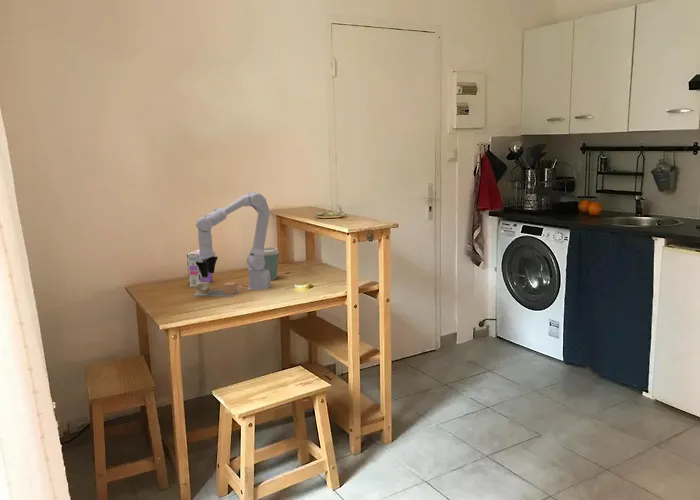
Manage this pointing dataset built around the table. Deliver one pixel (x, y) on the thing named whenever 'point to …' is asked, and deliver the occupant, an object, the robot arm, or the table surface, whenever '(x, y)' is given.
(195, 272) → the candy box
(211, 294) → the board
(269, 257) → the disposable coffee cup
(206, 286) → the block cream
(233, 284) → the block terracotta
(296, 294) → the table surface
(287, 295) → the table surface
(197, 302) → the table surface
